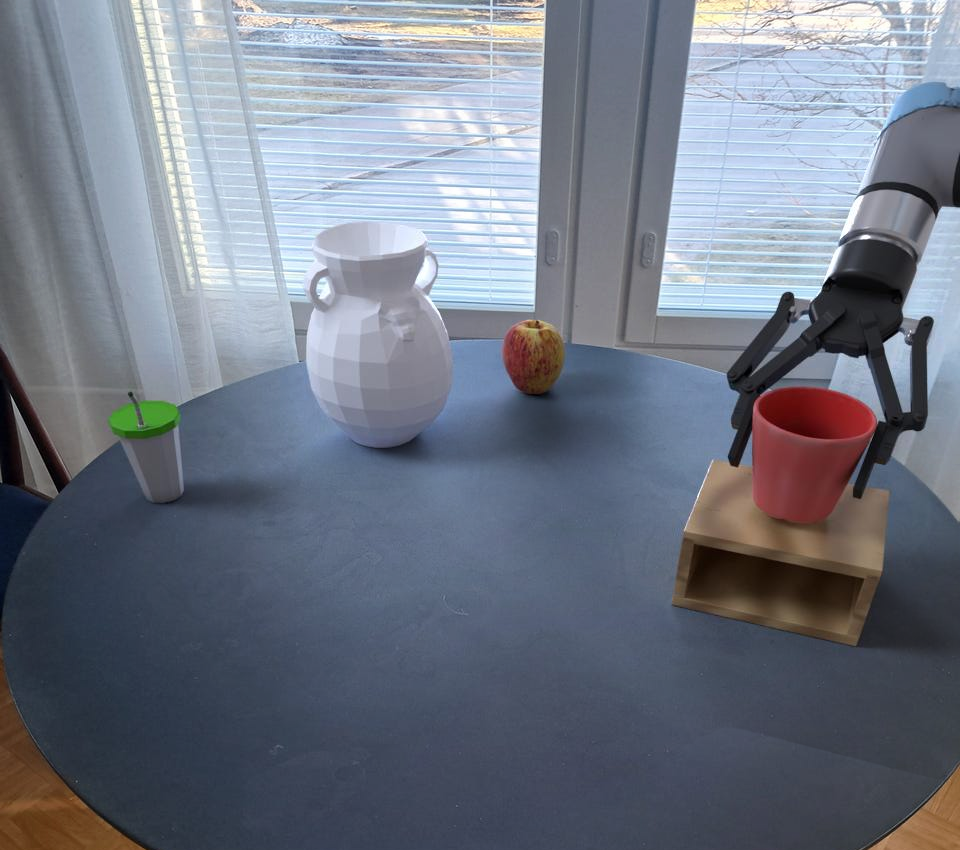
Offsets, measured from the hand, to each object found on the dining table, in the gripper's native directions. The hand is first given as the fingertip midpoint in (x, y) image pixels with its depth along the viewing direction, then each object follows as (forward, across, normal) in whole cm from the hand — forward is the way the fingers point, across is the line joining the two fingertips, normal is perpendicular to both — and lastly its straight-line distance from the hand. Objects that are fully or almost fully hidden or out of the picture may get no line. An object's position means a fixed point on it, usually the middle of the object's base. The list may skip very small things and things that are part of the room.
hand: (793, 477), depth 84 cm
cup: (+22, +69, +1) cm, 72 cm away
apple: (-13, +44, -33) cm, 56 cm away
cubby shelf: (+8, 0, -12) cm, 14 cm away
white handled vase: (+3, +55, -17) cm, 58 cm away
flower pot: (+1, 0, -5) cm, 5 cm away
